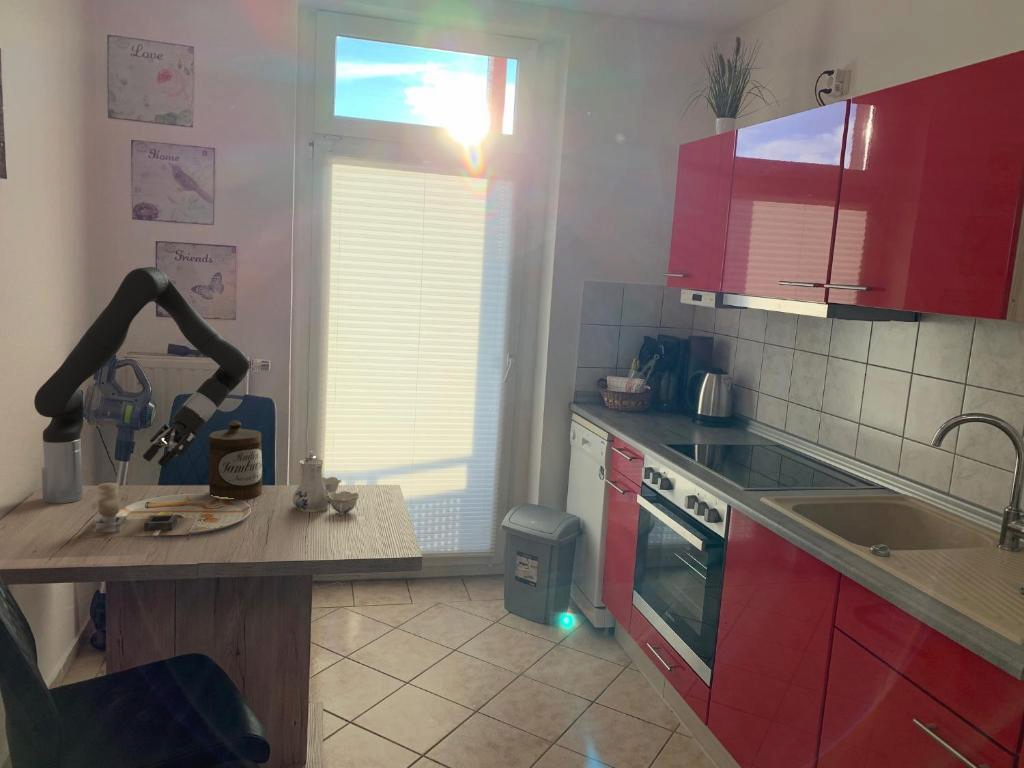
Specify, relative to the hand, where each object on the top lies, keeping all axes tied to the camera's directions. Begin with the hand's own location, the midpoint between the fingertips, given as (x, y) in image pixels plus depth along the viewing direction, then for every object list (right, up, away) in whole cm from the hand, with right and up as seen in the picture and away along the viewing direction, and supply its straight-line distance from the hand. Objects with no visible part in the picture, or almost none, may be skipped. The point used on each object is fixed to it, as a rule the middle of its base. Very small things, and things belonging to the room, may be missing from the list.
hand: (153, 462), depth 208 cm
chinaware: (+38, -15, +23) cm, 47 cm away
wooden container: (+10, -13, +33) cm, 37 cm away
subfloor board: (-1, -17, -5) cm, 18 cm away
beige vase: (-8, -16, -6) cm, 19 cm away
